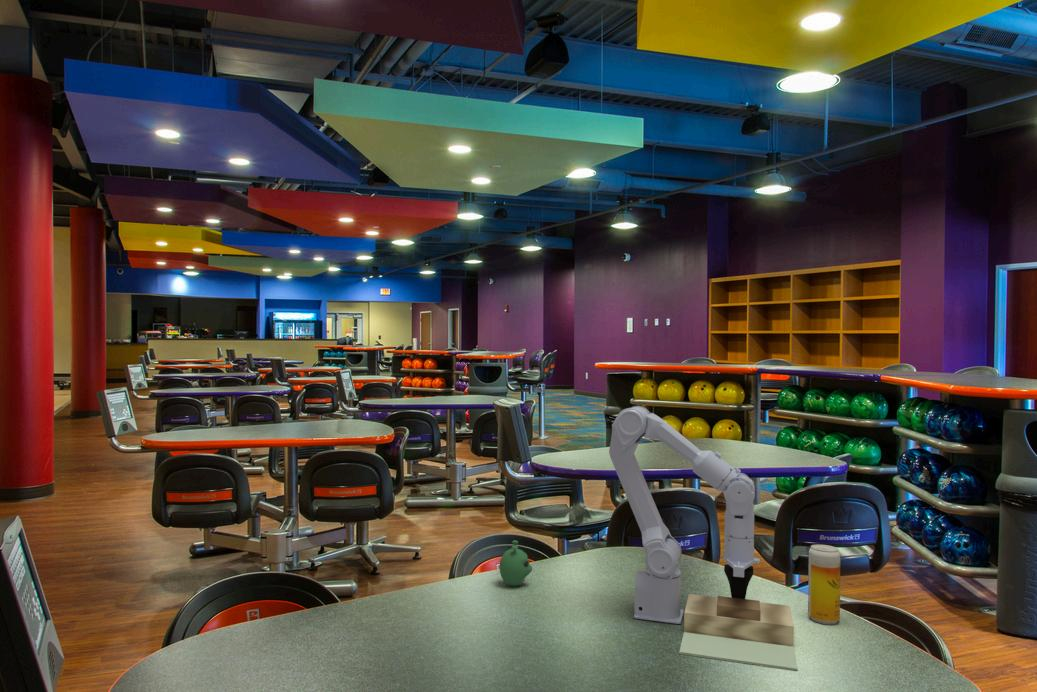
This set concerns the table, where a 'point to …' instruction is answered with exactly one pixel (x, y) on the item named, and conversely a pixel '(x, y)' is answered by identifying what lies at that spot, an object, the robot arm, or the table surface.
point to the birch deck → (739, 622)
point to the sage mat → (738, 651)
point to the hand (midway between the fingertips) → (738, 603)
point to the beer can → (824, 584)
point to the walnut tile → (738, 608)
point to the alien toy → (514, 566)
